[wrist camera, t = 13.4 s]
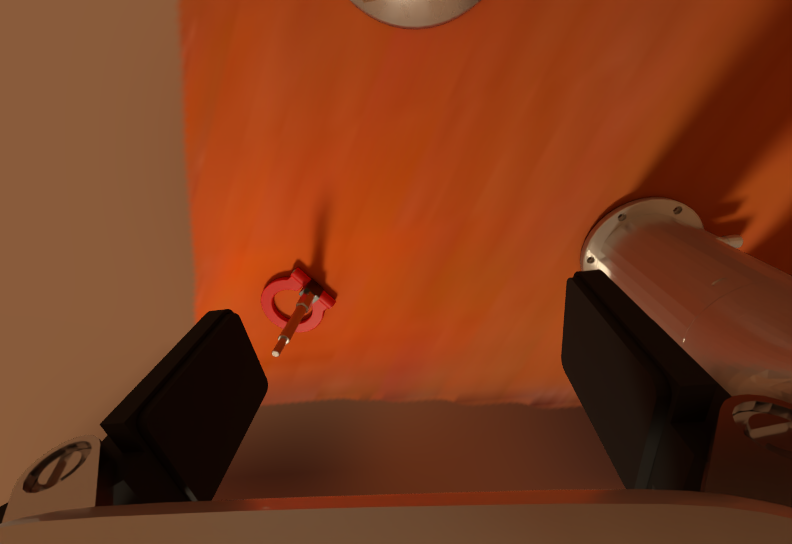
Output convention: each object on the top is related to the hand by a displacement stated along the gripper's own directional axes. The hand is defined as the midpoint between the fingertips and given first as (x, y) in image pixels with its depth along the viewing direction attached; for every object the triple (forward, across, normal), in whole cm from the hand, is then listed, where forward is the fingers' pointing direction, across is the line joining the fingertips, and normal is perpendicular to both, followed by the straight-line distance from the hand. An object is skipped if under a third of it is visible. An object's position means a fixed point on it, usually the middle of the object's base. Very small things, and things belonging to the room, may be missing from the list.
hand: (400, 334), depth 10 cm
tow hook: (+31, +18, +16) cm, 39 cm away
